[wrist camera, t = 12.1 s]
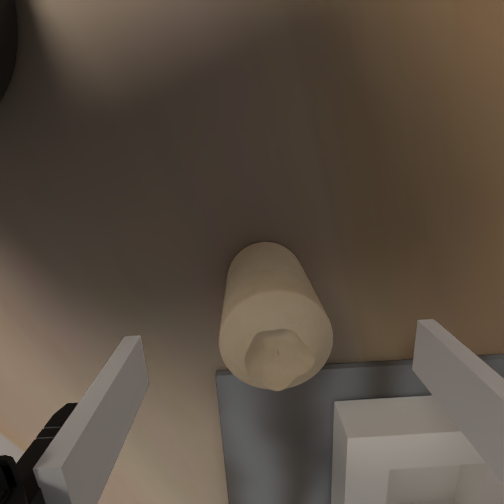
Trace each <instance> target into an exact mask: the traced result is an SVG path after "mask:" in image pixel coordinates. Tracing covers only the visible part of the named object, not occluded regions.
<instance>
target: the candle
mask: <svg viewBox="0 0 504 504" xmlns="http://www.w3.org/2000/svg"><path fill="white" fill-rule="evenodd" d="M332 346H333V330H332V326H331V323H330V320H329V318H328V316H327V314H326V312H325V310H324V308H323V306H322V304H321V302H320V301H319V299H318V297H317V295H316V293H315V291H314V289H313V287H312V285H311V283H310V281H309V279H308V277H307V275H306V273H305V272H304V270H303V268H302V266H301V264H300V262H299V261H298V259H297V257H296V256H295V255H294V254H293V253H292V252H291V251H290V250H288V249H287V248H286V247H284V246H282V245H279V244H277V243H272V242H259V243H255V244H252V245H249V246H248V247H246V248H244V249H243V250H241V251H240V252H239V253H238V254H237V255H236V257H235V258H234V259H233V261H232V263H231V265H230V267H229V271H228V276H227V283H226V290H225V297H224V304H223V312H222V319H221V326H220V334H219V349H220V354H221V357H222V359H223V361H224V363H225V365H226V366H227V368H228V369H229V370H230V371H231V372H232V374H233V375H235V376H236V377H237V378H238V379H240V380H241V381H243V382H245V383H247V384H249V385H251V386H254V387H257V388H262V389H269V390H273V391H281V390H284V389H286V388H291V387H294V386H297V385H299V384H302V383H304V382H306V381H307V380H309V379H310V378H312V377H313V376H314V375H316V374H317V373H318V372H319V371H320V370H321V369H322V367H323V366H324V365H325V363H326V361H327V360H328V358H329V356H330V353H331V350H332Z"/></svg>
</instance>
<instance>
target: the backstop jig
mask: <svg viewBox="0 0 504 504" xmlns="http://www.w3.org/2000/svg"><path fill="white" fill-rule="evenodd" d="M478 357H479V358H480V359H481V360H482V361H484V362H485V363H486V364H487V365H488V366H490V367H491V368H492V369H493V370H494V371H495V372H497V373H498V374H499V375H500V376H501V377H503V378H504V354H495V355H478ZM412 366H413V359H411V360H394V361H377V362H360V363H343V364H327V365H324V366H323V367H322V369H321V370H320V371H319V372H318V373H317V374H316V375H314V376H313V377H312V378H310V379H309V380H307V381H306V382H304V383H302V384H299V385H297V386H294V387H291V388H286V389H284V390H281V391H273V390H269V389H262V388H257V387H254V386H251V385H249V384H247V383H245V382H243V381H241V380H240V379H238V378H237V377H236V376H235V375H233V374H232V372H231V371H230V370H226V371H216V385H217V394H218V404H219V413H220V423H221V433H222V442H223V452H224V461H225V471H226V480H227V490H228V500H229V504H331V486H332V455H333V424H334V401H348V400H364V399H381V398H397V397H414V396H430V395H432V394H431V393H430V391H429V390H428V389H427V388H426V386H425V385H424V384H423V383H422V381H421V380H420V379H419V378H418V376H417V375H416V374H415V372H414V371H413V370H412Z"/></svg>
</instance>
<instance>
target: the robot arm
mask: <svg viewBox="0 0 504 504" xmlns="http://www.w3.org/2000/svg"><path fill="white" fill-rule="evenodd" d="M16 48H17V21H16V11H15V4H14V0H0V99H1V97H2V96H3V94H4V92H5V90H6V88H7V85H8V83H9V80H10V78H11V74H12V71H13V67H14V62H15V56H16ZM412 370H413V371H414V372H415V374H416V375H417V376H418V378H419V379H420V380H421V381H422V383H423V384H424V385H425V386H426V388H427V389H428V390H429V391H430V393H431V394H432V395H433V396H434V398H435V399H436V400H437V402H438V403H439V404H440V405H441V407H442V408H443V409H444V410H445V412H446V413H447V414H448V415H449V417H450V418H451V419H452V420H453V422H454V423H455V424H456V426H457V427H458V428H459V429H460V431H461V432H462V433H463V434H464V436H465V437H466V438H467V439H468V441H469V442H470V443H471V444H472V446H473V447H474V448H475V450H476V451H477V452H478V453H479V455H480V456H481V457H482V458H483V460H484V461H485V462H486V463H487V465H488V466H489V467H490V468H491V470H492V471H493V472H494V474H495V475H496V476H497V477H498V479H499V480H500V481H501V482H502V484H503V485H504V378H503V377H501V376H500V375H499V374H498V373H497V372H495V371H494V370H493V369H492V368H491V367H490V366H488V365H487V364H486V363H485V362H484V361H482V360H481V359H480V358H479V357H478V356H477V355H475V354H474V353H473V352H472V351H471V350H470V349H468V348H467V347H466V346H465V345H464V344H462V343H461V342H460V341H459V340H458V339H457V338H455V337H454V336H453V335H452V334H451V333H449V332H448V331H447V330H446V329H445V328H444V327H442V326H441V325H440V324H439V323H438V322H437V321H435V320H434V319H425V320H417V329H416V338H415V347H414V357H413V366H412ZM148 386H149V378H148V373H147V367H146V361H145V355H144V350H143V344H142V338H141V335H136V336H125V337H124V338H123V340H122V341H121V342H120V344H119V345H118V347H117V348H116V350H115V351H114V352H113V354H112V355H111V357H110V358H109V360H108V361H107V363H106V364H105V365H104V367H103V368H102V370H101V371H100V373H99V374H98V376H97V377H96V378H95V380H94V381H93V383H92V384H91V386H90V387H89V389H88V390H87V391H86V393H85V394H84V396H83V397H82V399H81V400H80V401H79V403H67V404H66V405H65V406H64V407H62V408H61V409H60V410H59V411H57V412H56V413H55V414H54V415H53V416H52V417H51V419H50V420H49V421H48V423H47V424H46V425H45V427H44V429H42V431H41V432H40V433H39V434H38V436H37V438H36V440H34V441H33V442H32V444H31V445H30V446H29V448H28V449H27V450H26V452H25V453H24V454H23V456H22V457H21V458H20V459H19V461H18V462H17V463H16V462H15V461H14V459H13V457H11V456H7V455H3V456H0V504H97V503H98V501H99V499H100V497H101V494H102V492H103V490H104V487H105V485H106V483H107V480H108V478H109V476H110V474H111V471H112V469H113V467H114V464H115V462H116V460H117V457H118V455H119V453H120V451H121V448H122V446H123V444H124V441H125V439H126V437H127V434H128V432H129V430H130V428H131V425H132V423H133V421H134V418H135V416H136V414H137V412H138V409H139V407H140V405H141V402H142V400H143V398H144V395H145V393H146V391H147V389H148Z"/></svg>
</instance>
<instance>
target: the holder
mask: <svg viewBox="0 0 504 504" xmlns="http://www.w3.org/2000/svg"><path fill="white" fill-rule="evenodd" d="M331 504H504V485H503V484H502V482H501V481H500V480H499V479H498V477H497V476H496V475H495V474H494V472H493V471H492V470H491V468H490V467H489V466H488V465H487V463H486V462H485V461H484V460H483V458H482V457H481V456H480V455H479V453H478V452H477V451H476V450H475V448H474V447H473V446H472V444H471V443H470V442H469V441H468V439H467V438H466V437H465V436H464V434H463V433H462V432H461V431H460V429H459V428H458V427H457V426H456V424H455V423H454V422H453V420H452V419H451V418H450V417H449V415H448V414H447V413H446V412H445V410H444V409H443V408H442V407H441V405H440V404H439V403H438V402H437V400H436V399H435V398H434V396H433V395H430V396H414V397H397V398H381V399H364V400H348V401H334V424H333V455H332V486H331Z"/></svg>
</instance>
